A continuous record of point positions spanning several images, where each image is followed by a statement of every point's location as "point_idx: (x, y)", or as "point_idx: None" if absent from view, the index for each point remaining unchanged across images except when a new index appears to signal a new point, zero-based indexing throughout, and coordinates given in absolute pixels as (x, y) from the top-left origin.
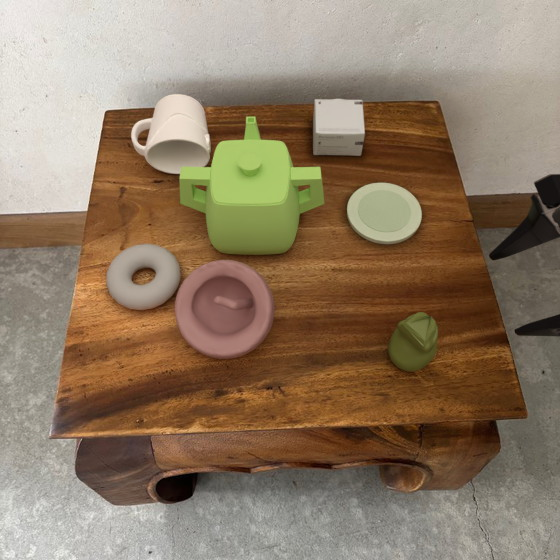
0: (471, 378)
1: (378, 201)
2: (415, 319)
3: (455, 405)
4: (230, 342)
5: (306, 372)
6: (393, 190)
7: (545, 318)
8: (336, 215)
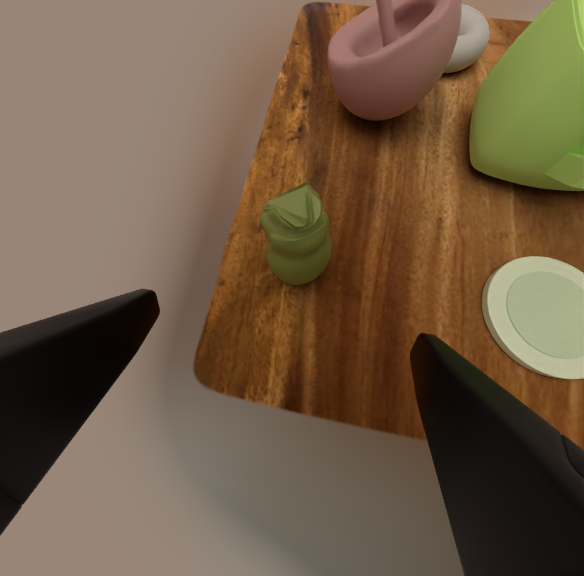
0: (247, 336)
1: (573, 309)
2: (309, 197)
3: (221, 301)
4: (342, 45)
5: (307, 162)
6: None
7: (35, 343)
8: (537, 247)
